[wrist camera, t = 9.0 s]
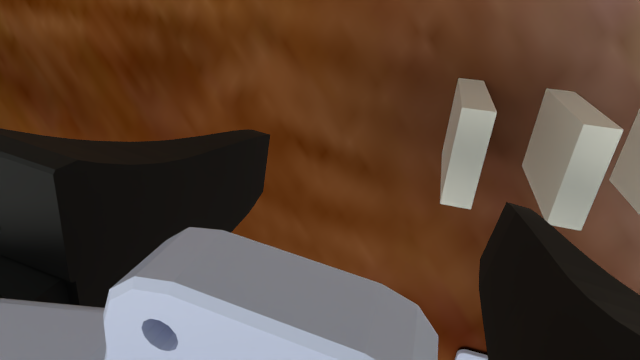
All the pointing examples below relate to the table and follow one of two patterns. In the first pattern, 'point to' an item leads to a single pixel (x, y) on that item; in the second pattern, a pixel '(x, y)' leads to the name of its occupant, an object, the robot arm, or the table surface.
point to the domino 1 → (466, 142)
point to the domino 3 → (629, 167)
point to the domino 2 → (568, 157)
